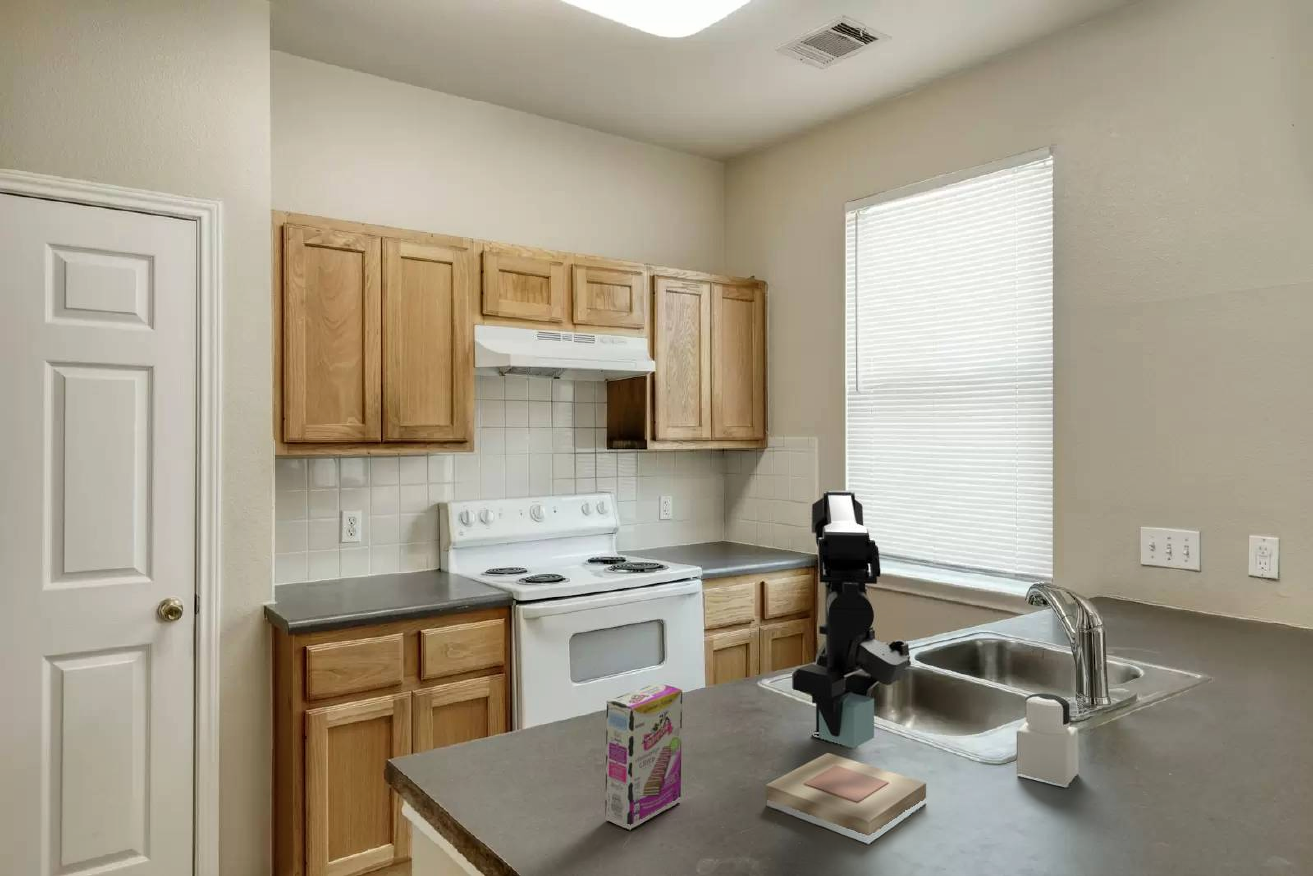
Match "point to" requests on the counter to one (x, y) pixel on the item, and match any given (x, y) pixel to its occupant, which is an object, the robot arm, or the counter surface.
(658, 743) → the candy bar box
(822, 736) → the teal block
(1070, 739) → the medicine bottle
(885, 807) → the stack base
